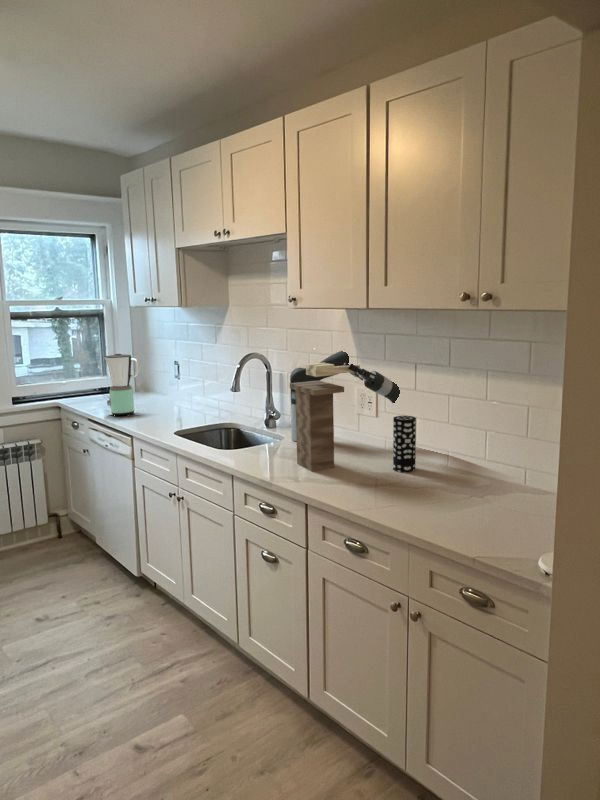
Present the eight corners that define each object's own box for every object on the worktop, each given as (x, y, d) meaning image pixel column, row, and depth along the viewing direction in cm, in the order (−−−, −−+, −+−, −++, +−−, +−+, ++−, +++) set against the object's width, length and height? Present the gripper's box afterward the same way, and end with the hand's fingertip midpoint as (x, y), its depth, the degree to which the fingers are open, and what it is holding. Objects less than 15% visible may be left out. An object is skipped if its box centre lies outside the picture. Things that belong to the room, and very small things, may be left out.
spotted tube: (409, 473, 222) (409, 421, 218) (389, 470, 227) (389, 418, 223) (419, 468, 228) (419, 417, 225) (399, 465, 233) (399, 414, 230)
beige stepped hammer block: (306, 374, 232) (305, 364, 231) (352, 369, 241) (352, 360, 240) (315, 376, 225) (315, 366, 224) (363, 372, 234) (363, 361, 233)
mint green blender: (105, 417, 338) (100, 355, 332) (110, 412, 352) (105, 353, 345) (139, 416, 340) (135, 354, 334) (143, 411, 353) (139, 352, 347)
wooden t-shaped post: (291, 461, 241) (289, 383, 236) (319, 456, 247) (318, 380, 241) (315, 474, 224) (313, 390, 218) (345, 469, 230) (344, 386, 224)
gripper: (372, 373, 249) (341, 355, 241) (392, 377, 237) (360, 358, 229) (365, 389, 249) (333, 372, 241) (384, 394, 236) (352, 376, 228)
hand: (346, 365), depth 235 cm, fingers closed on beige stepped hammer block, 3 cm apart
